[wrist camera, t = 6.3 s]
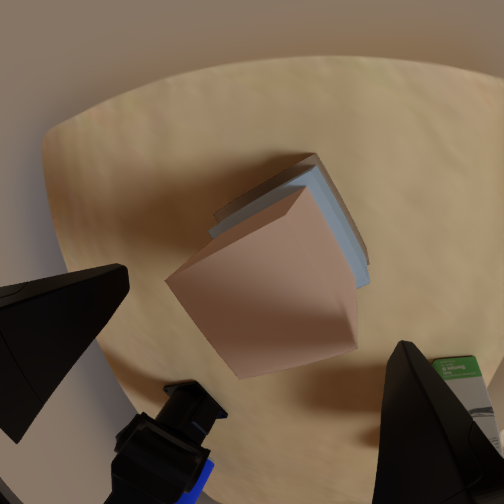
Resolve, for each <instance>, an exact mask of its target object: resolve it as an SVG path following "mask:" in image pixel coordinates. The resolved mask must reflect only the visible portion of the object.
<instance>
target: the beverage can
mask: <svg viewBox="0 0 504 504" xmlns="http://www.w3.org/2000/svg"><path fill="white" fill-rule="evenodd" d="M213 467H214V461H213V460H212V459H211V458H210V457H208V459H207V461H206V463H205V466H204V468H203V470H202V473H201V475H200V477H199V479H198V481H197V483H196V484H195V486H194V487H193V489H192V490H191V491H190V492H189V493H188V494H187V493H183V494H182V496H181V498H180V499H179V501H178V502H176V503H174V504H195V502H196V500H197V499H198V497H199V495H200V493H201V491H202V489H203V487H204V485H205V483H206V481H207V479H208V477H209V475H210V473H211V471H212V469H213Z"/></svg>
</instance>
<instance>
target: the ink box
mask: <svg viewBox="0 0 504 504" xmlns="http://www.w3.org/2000/svg"><path fill="white" fill-rule="evenodd" d="M432 366H433V367H434V368H435V370H436V371H437V372H438V373H439V375H440V376H441V377H442V378H443V380H444V381H445V382H446V383H447V385H448V386H449V387H450V388H451V390H452V391H453V392H454V394H455V395H456V396H457V398H458V399H459V400H460V401H461V403H462V404H463V405H464V407H465V408H466V409H467V411H468V412H469V413H470V415H471V416H472V418H473V421H474V420H475V422H476V423H477V424H478V426H479V427H480V429H481V430H482V431H483V433H484V434H485V435H486V437H487V438H488V440H489V441H490V442H491V443H492V445H493V446H494V447H495V448H496V450H497V451H498V452H499V453H500V455H501V456H502V457H503V452H502V446H501V440H500V436H499V431H498V427H497V423H496V419H495V415H494V412H493V408H492V405H491V401H490V398H489V394H488V391H487V388H486V385H485V382H484V379H483V377H482V374H481V371H480V368H479V365H478V362H477V360H476V357H475V356H473V357H461V358H448V359H439V360H434V362H433V364H432Z"/></svg>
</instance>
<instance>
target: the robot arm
mask: <svg viewBox="0 0 504 504" xmlns="http://www.w3.org/2000/svg"><path fill="white" fill-rule="evenodd" d="M129 289H130V284H129V276H128V269H127V267H126V266H124V265H121V264H118V263H115V264H110V265H105V266H100V267H95V268H90V269H85V270H80V271H75V272H71V273H66V274H61V275H57V276H52V277H47V278H42V279H38V280H34V281H30V282H24V283H19V284H14V285H9V286H3V287H0V428H1V429H2V430H3V431H4V432H5V433H6V434H7V435H8V436H9V437H10V438H11V439H12V440H13V441H14V442H15V443H16V444H18V443H19V442H20V440H21V439H22V437H23V436H24V434H25V433H26V431H27V430H28V428H29V426H30V425H31V424H32V422H33V421H34V419H35V418H36V416H37V415H38V413H39V412H40V410H41V409H42V408H43V406H44V404H45V403H46V401H47V400H48V399H49V397H50V396H51V395H52V393H53V392H54V391H55V389H56V388H57V386H58V385H59V384H60V382H61V381H62V380H63V378H64V377H65V376H66V374H67V373H68V372H69V371H70V369H71V368H72V366H73V365H74V364H75V363H76V361H77V360H78V359H79V358H80V356H81V355H82V354H83V352H84V351H85V350H86V349H87V348H88V346H89V345H90V344H91V342H92V341H93V340H94V339H95V338H96V336H97V335H98V334H99V333H100V332H101V330H102V329H103V328H104V327H105V325H106V324H107V323H108V321H109V320H110V319H111V317H112V316H113V314H114V313H115V311H116V310H117V308H118V307H119V305H120V304H121V303H122V301H123V300H124V298H125V297H126V295H127V294H128V292H129ZM163 390H164V391H165V392H166V394H167V395H168V396H169V397H170V398H169V399H168V401H167V402H166V404H165V405H164V407H163V408H162V409H161V411H160V412H159V414H158V415H157V417H156V418H155V419H153V418H151V417H149V416H148V415H147V414H146V413H145V412H142V413H141V415H140V414H136V415H135V417H134V418H133V419H132V421H131V422H130V423H129V424H128V425H127V426H126V427H125V428H124V429H123V430H122V431H121V432H119V433H118V434H117V436H116V441H117V443H116V447H115V449H114V451H115V452H116V453H117V455H116V457H115V458H114V460H113V461H112V464H111V478H112V492H111V494H110V495H109V497H108V498H107V500H106V501H105V502H104V504H174V503H176V502H178V501H179V499H180V498H181V496H182V494H183V493H187V494H188V493H189V492H190V491H191V490H192V489H193V487H194V486H195V484H196V483H197V481H198V479H199V477H200V475H201V473H202V470H203V468H204V466H205V463H206V461H207V459H208V456H209V454H210V452H211V450H209V449H207V448H206V449H205V448H203V447H201V444H202V442H203V440H204V439H205V437H206V435H208V434H209V432H210V430H211V428H212V426H213V424H214V422H215V420H216V419H223V418H227V416H228V414H227V413H226V412H225V411H224V410H223V409H222V408H221V406H220V405H219V404H218V403H217V402H216V401H215V400H214V399H213V398H212V397H211V396H210V395H209V394H208V393H207V392H206V391H205V390H204V388H203V387H202V386H201V385H200V384H199V383H197V382H189V383H183V384H175V385H168V386H164V388H163ZM0 504H23V503H22V502H21V501H20V500H19V498H18V497H17V496H16V495H15V494H14V493H13V492H12V491H11V490H10V488H9V487H8V486H7V485H6V484H5V482H4V481H3V480H2V479H1V478H0ZM372 504H504V458H503V457H502V456H501V455H500V453H499V452H498V451H497V450H496V448H495V447H494V446H493V445H492V443H491V442H490V441H489V440H488V438H487V437H486V435H485V434H484V433H483V431H482V430H481V429H480V427H479V426H478V424H477V423H476V422H475V420H474V421H473V418H472V416H471V415H470V413H469V412H468V411H467V409H466V408H465V407H464V405H463V404H462V403H461V401H460V400H459V399H458V398H457V396H456V395H455V394H454V392H453V391H452V390H451V388H450V387H449V386H448V385H447V383H446V382H445V381H444V380H443V378H442V377H441V376H440V375H439V373H438V372H437V371H436V370H435V368H434V367H433V366H432V365H431V364H430V362H429V361H428V360H427V359H426V357H425V356H424V355H423V354H422V353H421V352H420V350H419V349H418V348H417V347H416V346H415V344H414V343H413V342H409V341H404V340H401V341H399V342H398V344H397V346H396V347H395V349H394V351H393V353H392V355H391V356H390V358H389V360H388V363H387V368H386V377H385V386H384V394H383V401H382V409H381V426H380V442H379V454H378V463H377V472H376V480H375V487H374V493H373V500H372Z"/></svg>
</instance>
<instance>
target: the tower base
mask: <svg viewBox="0 0 504 504" xmlns="http://www.w3.org/2000/svg"><path fill="white" fill-rule="evenodd" d="M315 165H317V167H318V169H319V170H320V172H321V174H322V176H323V177H324V179H325V181H326V182H327V184H328V186H329V188H330V190H331V191H332V193H333V195H334V197H335V199H336V200H337V202H338V204H339V206H340V208H341V210H342V211H343V213H344V215H345V217H346V219H347V221H348V223H349V225H350V227H351V229H352V231H353V233H354V235H355V237H356V239H357V241H358V243H359V245H360V247H361V249H362V251H363V253H364V255H365V257H366V261H367V265H369V264H370V263H369V258H368V253H367V248H366V246H365V243H364V241H363V239H362V237H361V235H360V233H359V231H358V229H357V227H356V225H355V223H354V221H353V219H352V217H351V215H350V213H349V211H348V209H347V207H346V205H345V203H344V201H343V199H342V198H341V196H340V194H339V192H338V190H337V188H336V186H335V185H334V183H333V181H332V179H331V177H330V176H329V174H328V172H327V170H326V169H325V167H324V165H323V163H322V162H321V160H320V158H319V157H318V155H317V153H315V154H313V155H311V156H310V157H308V158H306V159H304V160H302V161H301V162H299V163H297V164H295V165H294V166H292V167H290V168H288V169H287V170H285V171H283V172H281V173H280V174H278V175H276V176H274V177H273V178H271V179H269V180H268V181H266V182H264V183H263V184H261V185H259V186H258V187H256V188H254V189H253V190H251V191H249V192H248V193H246V194H244V195H243V196H241V197H239V198H238V199H236V200H235V201H233V202H231V203H230V204H228V205H226V206H225V207H223V208H222V209H220V210H218V211H217V212H215V213H214V214H213V215H214V217H215V218H216V220H217V221H218V223H220V222H221V221H223V220H224V219H225V218H227V217H228V216H230V215H231V214H233V213H235V212H236V211H238V210H239V209H241V208H243V207H244V206H246V205H248V204H249V203H251V202H253V201H254V200H256V199H258V198H260V197H261V196H263V195H265V194H266V193H268V192H270V191H271V190H273V189H275V188H277V187H278V186H280V185H282V184H284V183H285V182H287V181H289V180H290V179H292V178H294V177H296V176H298V175H299V174H301V173H303V172H305V171H306V170H308V169H310V168H312V167H314V166H315Z"/></svg>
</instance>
